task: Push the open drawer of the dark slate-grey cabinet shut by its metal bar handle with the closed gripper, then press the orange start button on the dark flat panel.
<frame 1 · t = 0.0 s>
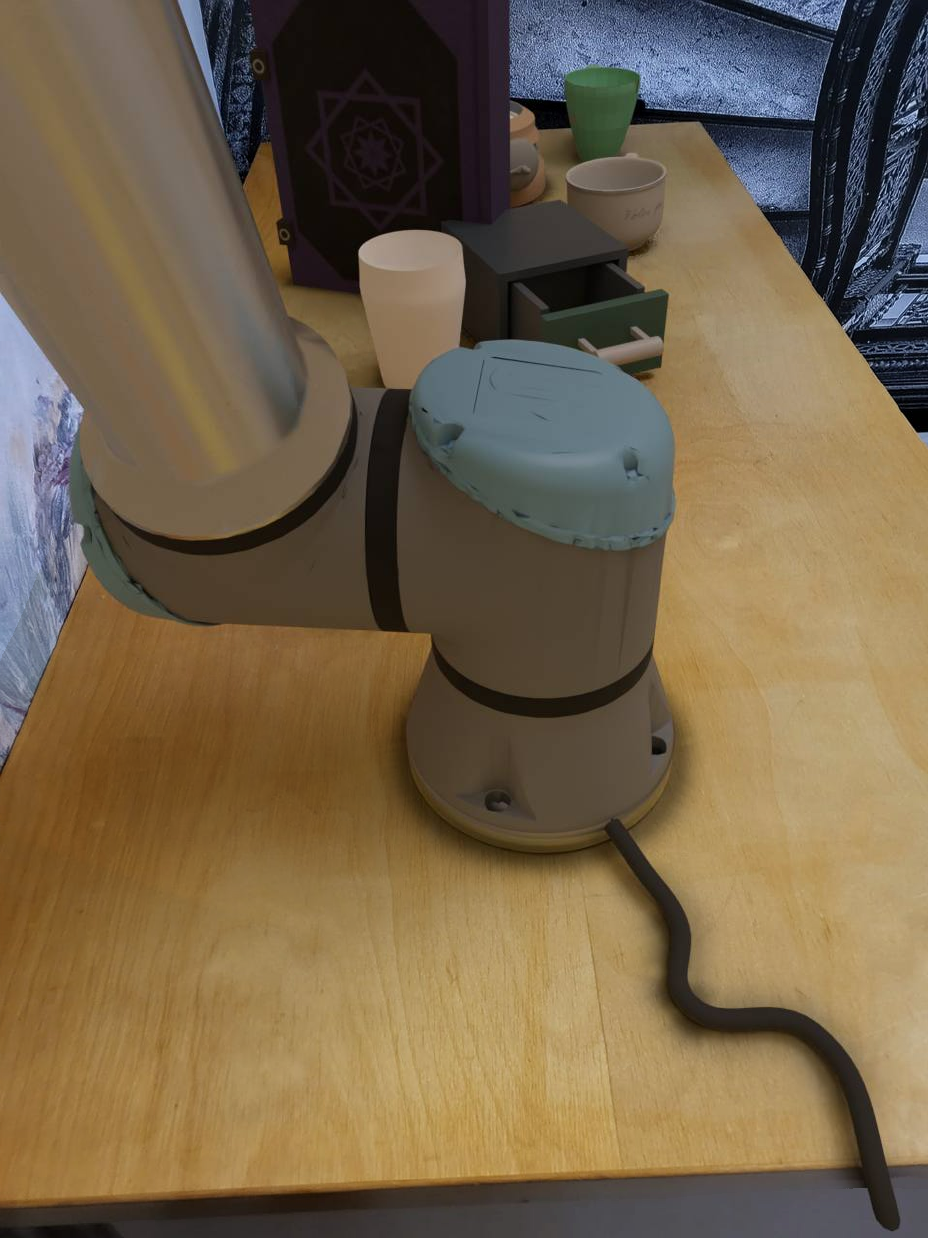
dark flat panel: (370, 548, 73), on the table
green tumbler: (595, 154, 138), on the table
cabinet: (530, 322, 100), on the table
alarm clock: (476, 198, 126), on the table
cup: (419, 381, 92), on the table
start button: (364, 497, 70), point 5 cm above the table, slide at 0.2 cm
drawer: (583, 325, 89), point 4 cm above the table, slide at 7.0 cm
teacup: (617, 240, 115), on the table
book: (398, 292, 107), on the table, touching cabinet
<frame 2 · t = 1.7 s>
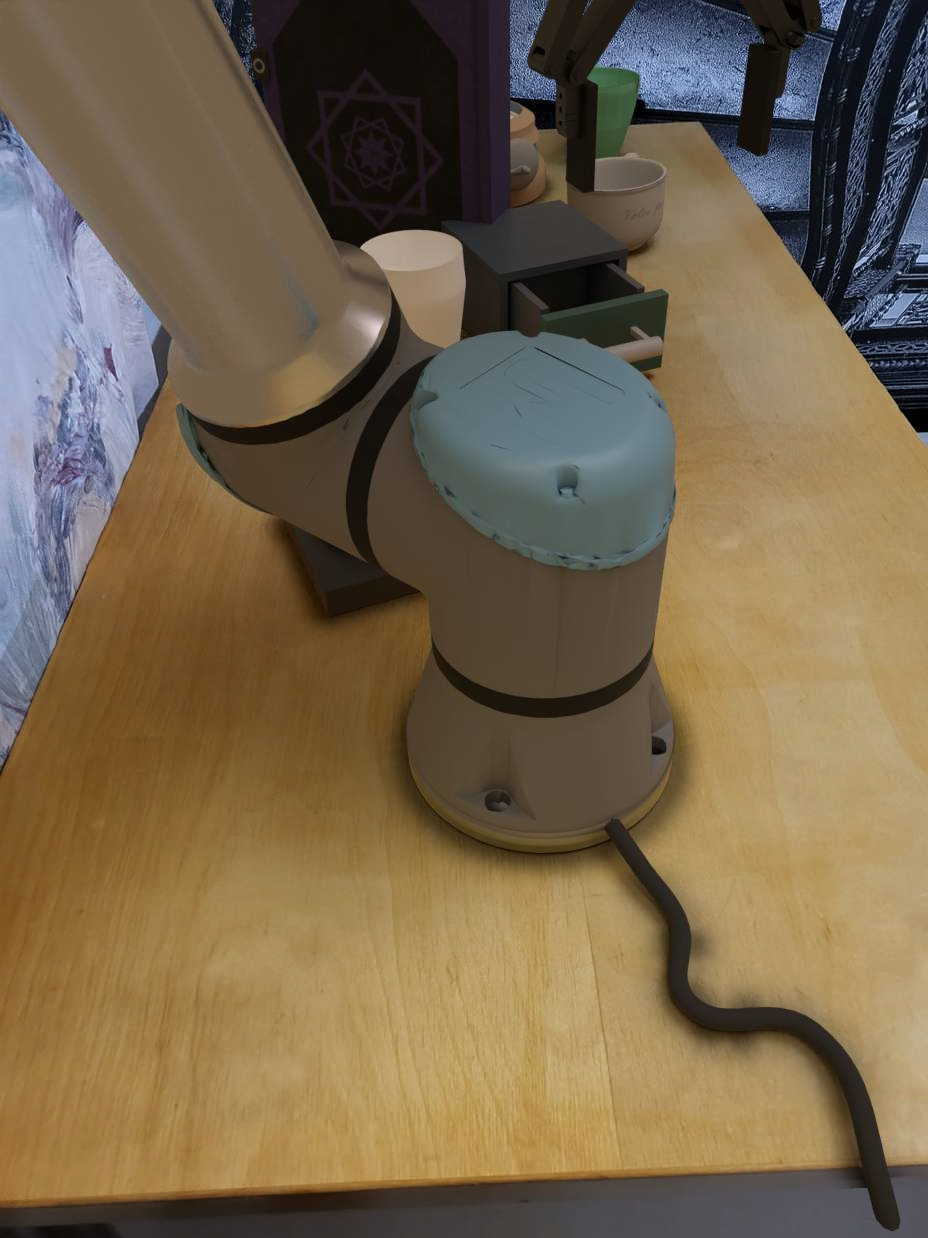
hand: (667, 168, 70), 21 cm above the table, tool pointing down, fingers open, 13 cm apart
nothing on the table moved.
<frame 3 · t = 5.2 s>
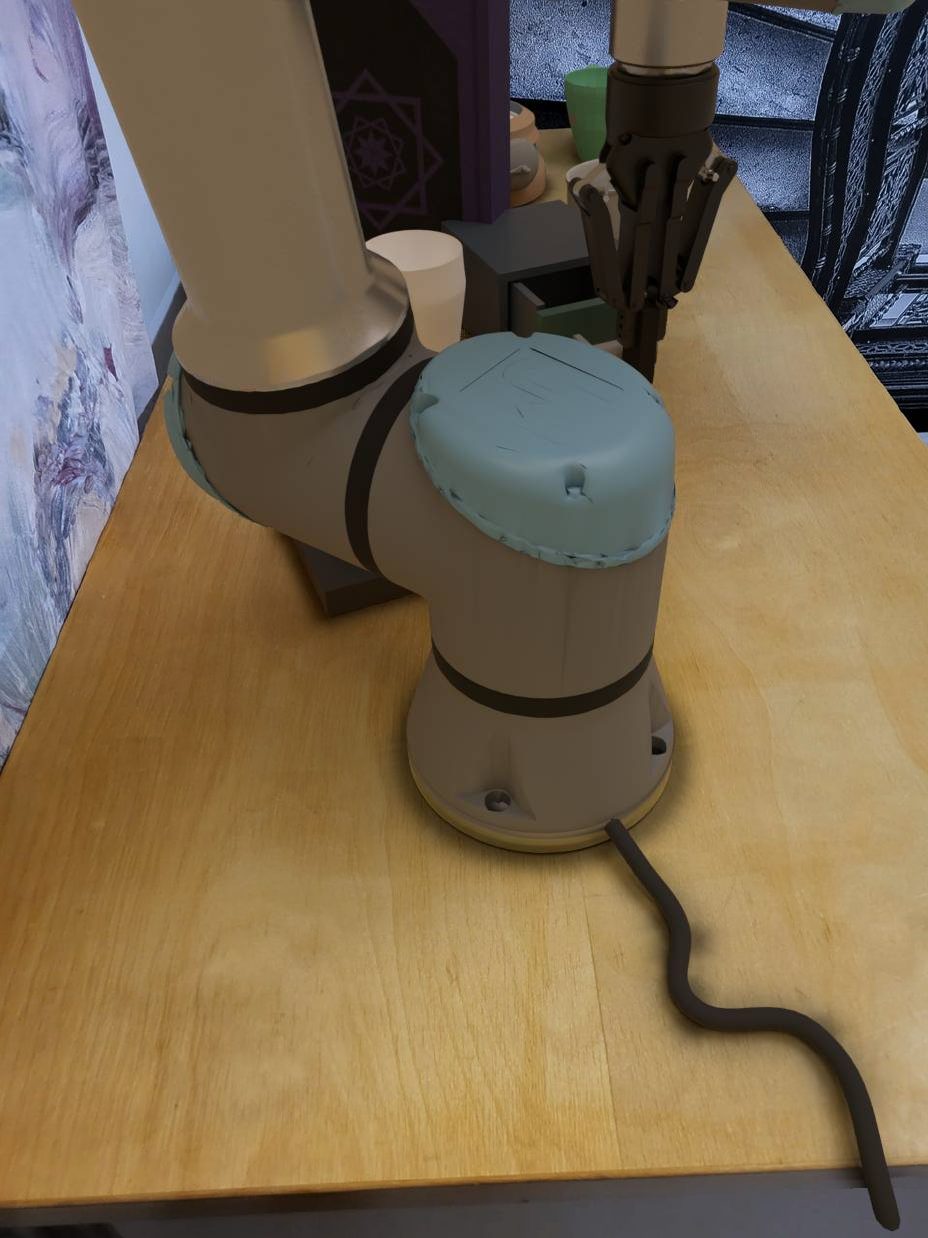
hand: (636, 378, 83), 4 cm above the table, tool pointing down, fingers closed
drawer: (579, 321, 90), point 4 cm above the table, slide at 6.1 cm, touching gripper
everything else where it was.
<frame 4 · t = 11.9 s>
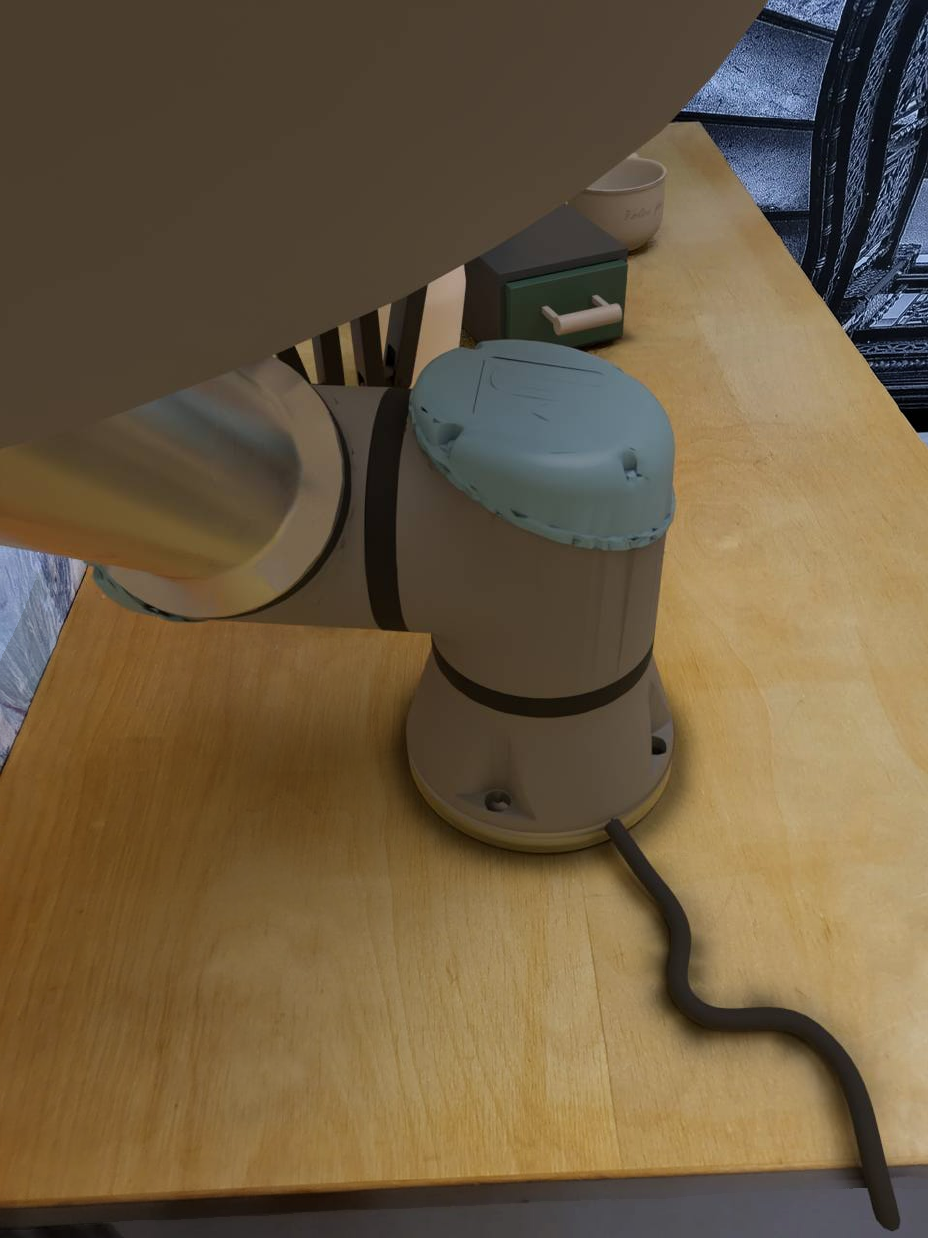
hand: (363, 486, 70), 5 cm above the table, tool pointing down, fingers closed
start button: (365, 500, 70), point 4 cm above the table, slide at -0.2 cm, touching gripper
drawer: (549, 295, 94), point 4 cm above the table, slide at 0.0 cm, touching cabinet
everything else where it was.
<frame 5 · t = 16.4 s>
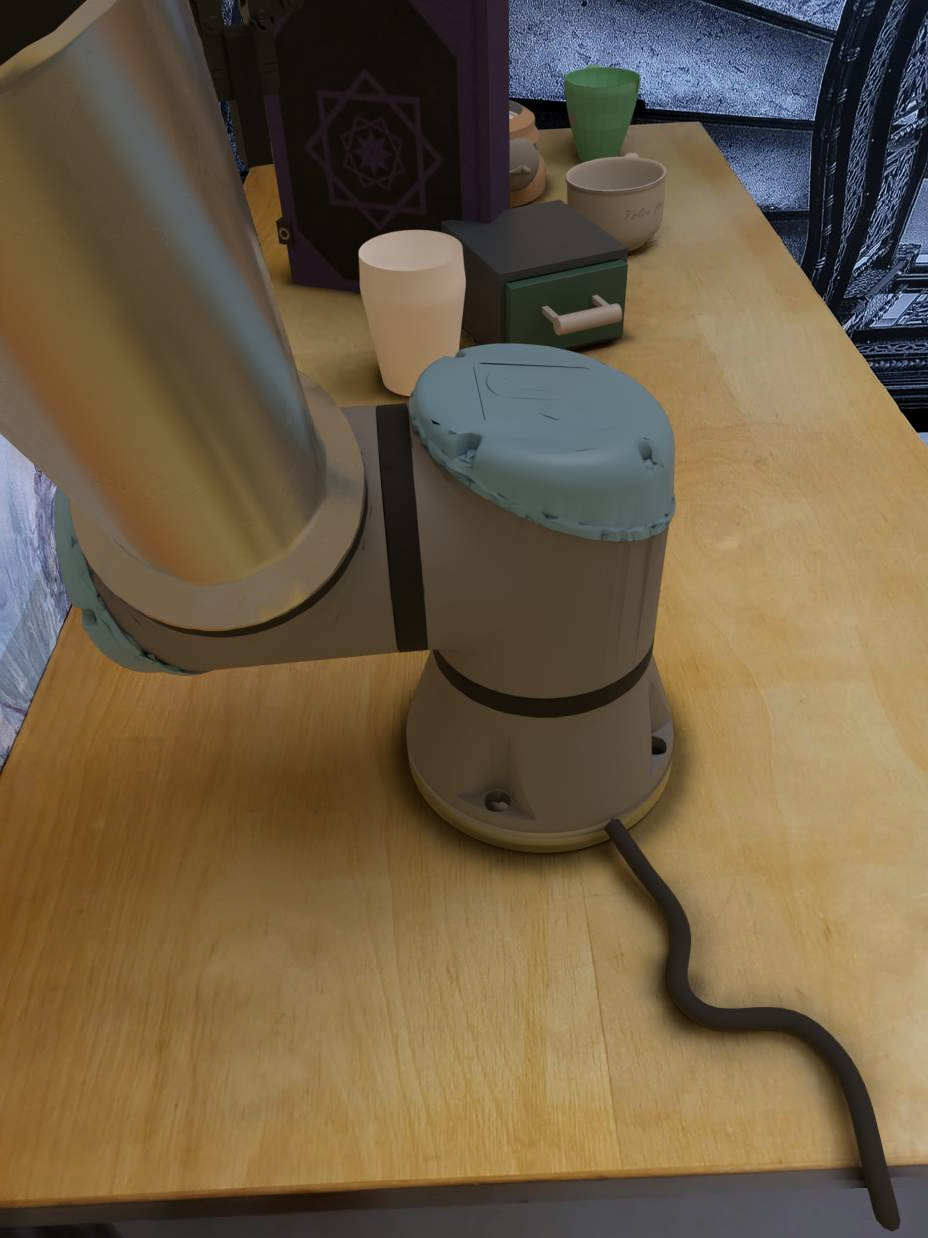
hand: (255, 158, 58), 26 cm above the table, tool pointing down, fingers closed
start button: (364, 497, 70), point 5 cm above the table, slide at 0.1 cm
everything else where it was.
at the end: drawer slide at 0.0 cm; start button pushed in 1.0 cm at the most during the clip, back to where it started at the end; start button slide at 0.1 cm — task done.
